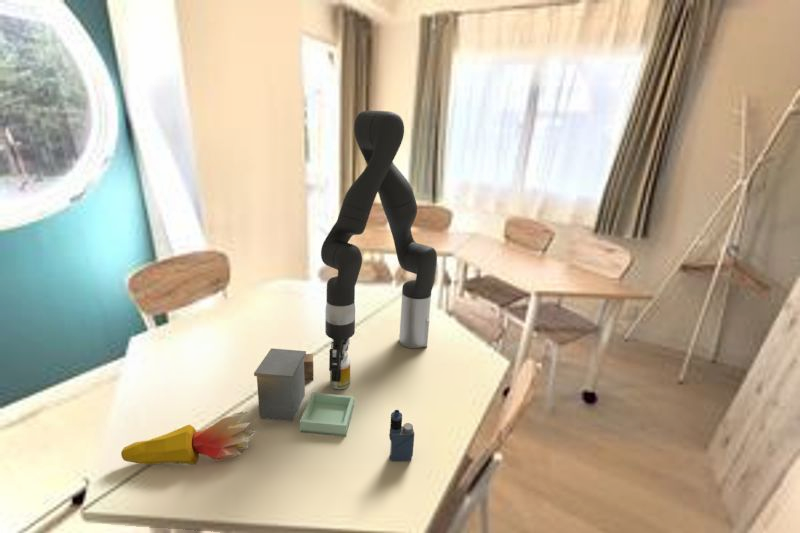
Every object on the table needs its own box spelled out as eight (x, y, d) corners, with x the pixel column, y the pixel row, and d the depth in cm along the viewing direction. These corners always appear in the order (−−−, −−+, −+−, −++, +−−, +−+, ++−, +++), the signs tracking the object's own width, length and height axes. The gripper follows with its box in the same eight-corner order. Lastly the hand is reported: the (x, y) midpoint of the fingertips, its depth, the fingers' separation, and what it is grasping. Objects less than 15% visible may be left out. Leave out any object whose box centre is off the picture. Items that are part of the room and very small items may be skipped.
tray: (354, 406, 103) (354, 396, 102) (346, 436, 93) (346, 425, 92) (312, 402, 104) (312, 392, 103) (300, 432, 94) (299, 421, 93)
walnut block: (313, 372, 116) (313, 353, 114) (313, 380, 113) (312, 361, 111) (298, 373, 116) (298, 354, 114) (298, 381, 112) (297, 362, 110)
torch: (133, 476, 85) (259, 444, 90) (116, 490, 77) (254, 454, 83) (129, 435, 86) (253, 406, 91) (111, 445, 78) (248, 413, 84)
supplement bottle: (353, 380, 113) (354, 350, 110) (344, 391, 109) (345, 360, 105) (335, 376, 115) (336, 345, 112) (326, 387, 110) (326, 355, 107)
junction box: (306, 394, 107) (305, 351, 103) (294, 422, 97) (292, 376, 92) (273, 391, 107) (271, 348, 103) (257, 419, 97) (253, 372, 93)
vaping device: (387, 453, 89) (390, 407, 85) (411, 452, 90) (415, 406, 86) (388, 462, 87) (391, 415, 83) (413, 461, 87) (416, 415, 83)
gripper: (349, 331, 98) (348, 388, 103) (359, 306, 112) (357, 358, 117) (318, 328, 98) (319, 386, 104) (332, 304, 112) (331, 356, 117)
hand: (339, 371), depth 110 cm, fingers open, 8 cm apart
